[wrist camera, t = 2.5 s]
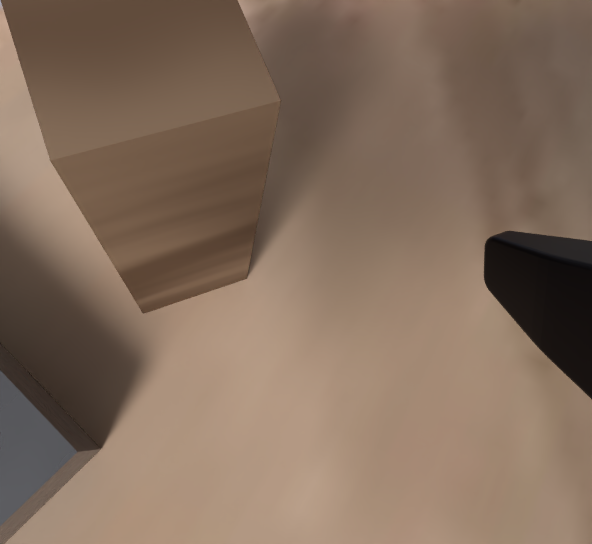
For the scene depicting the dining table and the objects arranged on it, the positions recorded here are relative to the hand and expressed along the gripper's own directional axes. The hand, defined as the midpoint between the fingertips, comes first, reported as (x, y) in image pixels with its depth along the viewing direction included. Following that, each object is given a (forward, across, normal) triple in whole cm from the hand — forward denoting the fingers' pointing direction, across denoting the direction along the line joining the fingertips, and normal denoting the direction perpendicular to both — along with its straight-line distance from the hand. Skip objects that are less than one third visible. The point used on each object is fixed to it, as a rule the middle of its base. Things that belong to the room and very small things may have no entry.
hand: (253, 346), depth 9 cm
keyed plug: (+14, 0, +4) cm, 15 cm away
